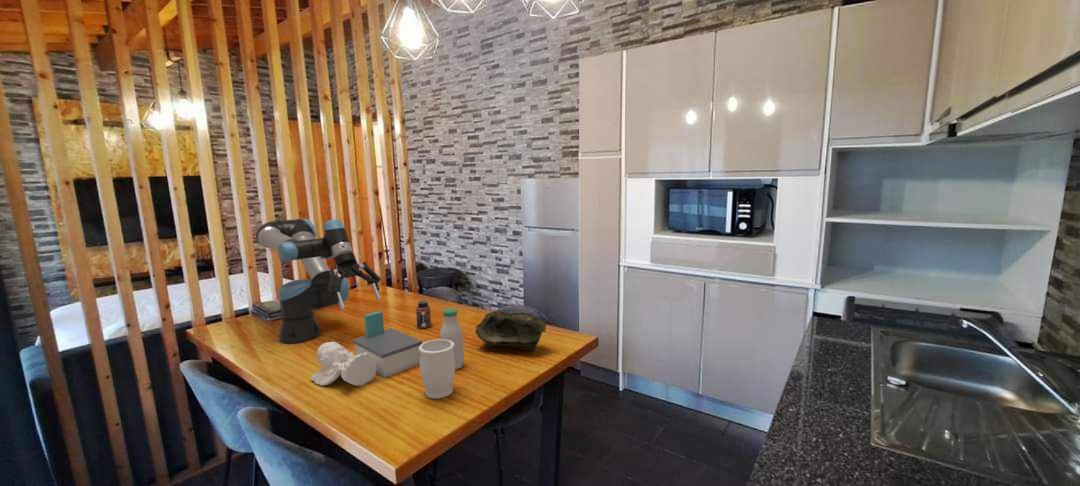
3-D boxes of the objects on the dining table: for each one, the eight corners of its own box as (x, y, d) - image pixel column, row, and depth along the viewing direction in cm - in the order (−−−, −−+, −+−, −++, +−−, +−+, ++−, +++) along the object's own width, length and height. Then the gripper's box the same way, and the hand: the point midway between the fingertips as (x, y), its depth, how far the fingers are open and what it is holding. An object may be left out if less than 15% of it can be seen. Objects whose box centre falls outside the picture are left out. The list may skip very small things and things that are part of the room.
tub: (356, 361, 153) (354, 342, 152) (392, 349, 164) (390, 331, 162) (384, 377, 140) (382, 357, 139) (421, 363, 150) (420, 344, 149)
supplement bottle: (427, 329, 184) (425, 304, 182) (414, 328, 185) (413, 303, 184) (433, 324, 190) (432, 300, 188) (421, 324, 191) (419, 299, 189)
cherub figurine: (338, 364, 126) (301, 344, 137) (341, 402, 129) (304, 379, 140) (376, 348, 137) (340, 330, 147) (378, 383, 140) (341, 363, 150)
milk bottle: (468, 362, 150) (465, 307, 147) (456, 372, 143) (454, 314, 140) (448, 359, 153) (446, 306, 150) (437, 369, 146) (433, 312, 143)
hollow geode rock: (546, 364, 159) (558, 327, 166) (536, 351, 149) (549, 312, 157) (482, 350, 170) (495, 316, 178) (469, 337, 161) (483, 302, 168)
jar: (425, 384, 135) (422, 339, 132) (458, 383, 136) (456, 337, 133) (418, 402, 124) (415, 353, 122) (454, 400, 125) (452, 351, 123)
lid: (352, 344, 152) (350, 317, 151) (391, 332, 163) (389, 307, 162) (382, 360, 138) (380, 331, 137) (422, 346, 149) (420, 319, 148)
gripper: (311, 258, 160) (328, 309, 155) (376, 245, 176) (394, 291, 171) (308, 266, 166) (325, 316, 161) (372, 253, 182) (389, 298, 177)
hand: (361, 303), depth 166 cm, fingers open, 13 cm apart
